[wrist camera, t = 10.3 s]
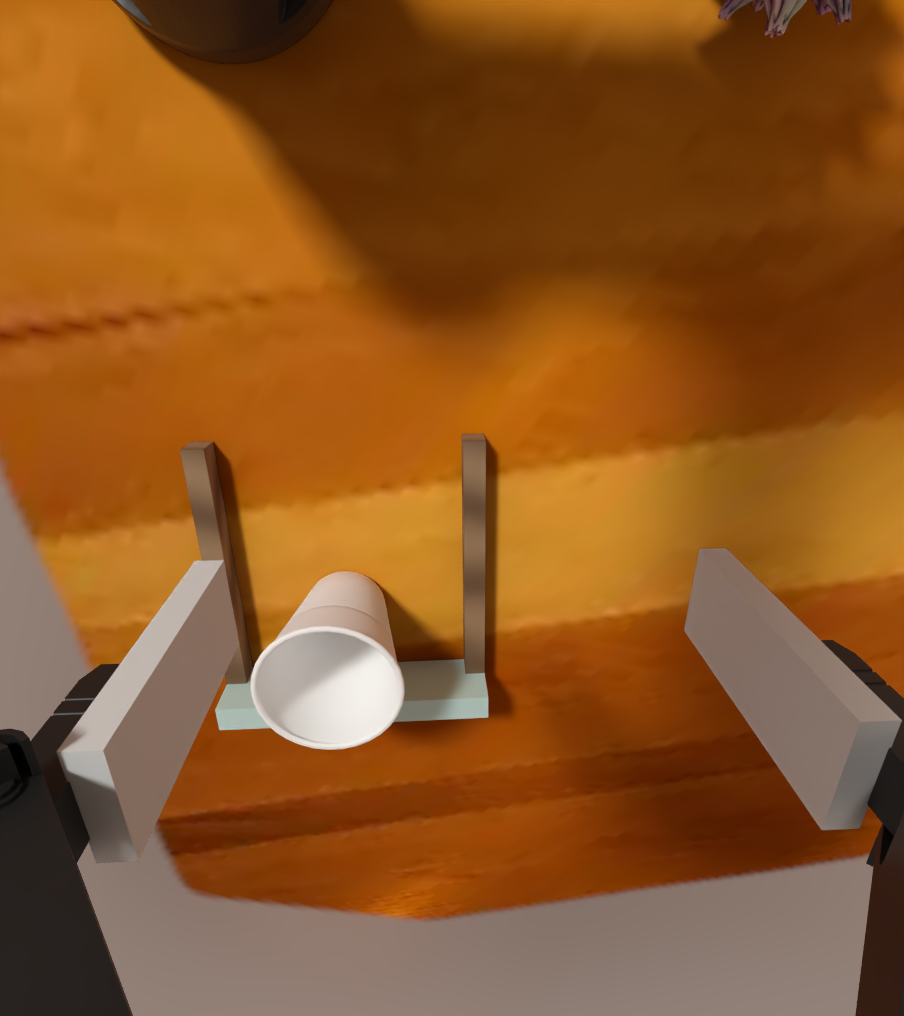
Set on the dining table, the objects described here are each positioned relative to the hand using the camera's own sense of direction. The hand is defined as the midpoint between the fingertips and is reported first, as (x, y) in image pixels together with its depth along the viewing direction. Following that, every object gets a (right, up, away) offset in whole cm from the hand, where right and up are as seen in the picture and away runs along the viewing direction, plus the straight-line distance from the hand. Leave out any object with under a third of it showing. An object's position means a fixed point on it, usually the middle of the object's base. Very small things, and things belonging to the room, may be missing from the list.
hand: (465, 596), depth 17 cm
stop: (-8, -12, +35) cm, 37 cm away
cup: (-9, -5, +32) cm, 34 cm away
